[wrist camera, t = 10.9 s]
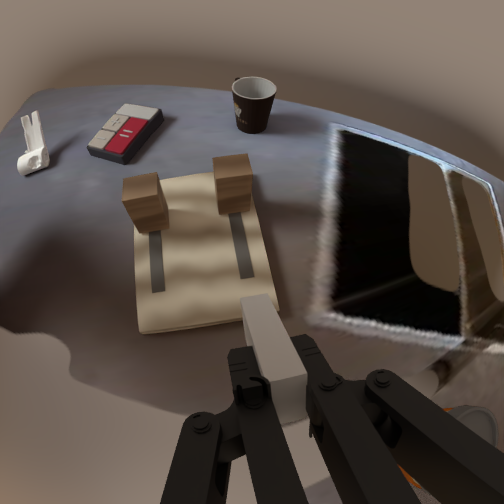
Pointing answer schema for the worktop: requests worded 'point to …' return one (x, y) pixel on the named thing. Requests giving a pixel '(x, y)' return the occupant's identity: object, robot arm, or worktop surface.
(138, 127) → the calculator
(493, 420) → the reusable coffee cup
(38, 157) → the plastic part
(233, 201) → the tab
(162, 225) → the brown tall rectangular block
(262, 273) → the switch board
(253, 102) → the coffee mug
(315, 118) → the worktop surface
